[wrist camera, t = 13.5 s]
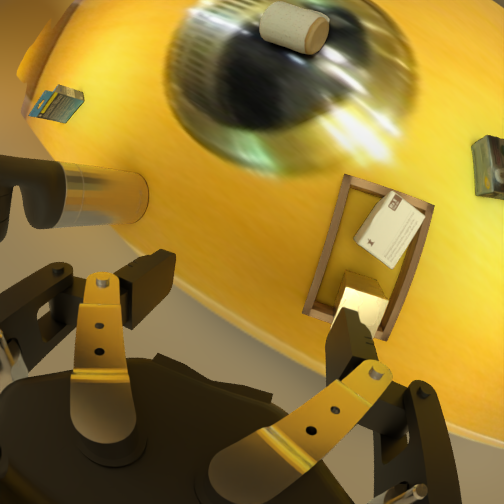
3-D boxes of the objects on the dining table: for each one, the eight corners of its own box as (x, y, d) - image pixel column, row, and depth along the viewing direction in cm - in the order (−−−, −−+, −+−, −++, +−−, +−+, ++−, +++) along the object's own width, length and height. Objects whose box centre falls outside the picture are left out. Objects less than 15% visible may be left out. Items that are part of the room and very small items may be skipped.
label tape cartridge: (83, 91, 48) (46, 79, 37) (84, 101, 48) (45, 89, 37) (64, 114, 51) (28, 105, 40) (65, 124, 51) (27, 116, 40)
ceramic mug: (312, 65, 33) (304, 36, 25) (266, 49, 34) (251, 21, 27) (342, 25, 30) (339, -5, 23) (298, 10, 32) (288, -18, 24)
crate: (305, 305, 37) (301, 313, 34) (344, 178, 34) (344, 173, 30) (383, 331, 34) (386, 341, 31) (426, 206, 30) (434, 205, 27)
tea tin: (334, 301, 36) (330, 328, 26) (345, 268, 35) (345, 286, 25) (365, 311, 35) (371, 342, 25) (377, 279, 34) (388, 300, 24)
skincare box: (377, 257, 33) (393, 275, 22) (350, 237, 34) (355, 246, 23) (402, 219, 32) (430, 218, 20) (375, 199, 33) (391, 188, 21)
